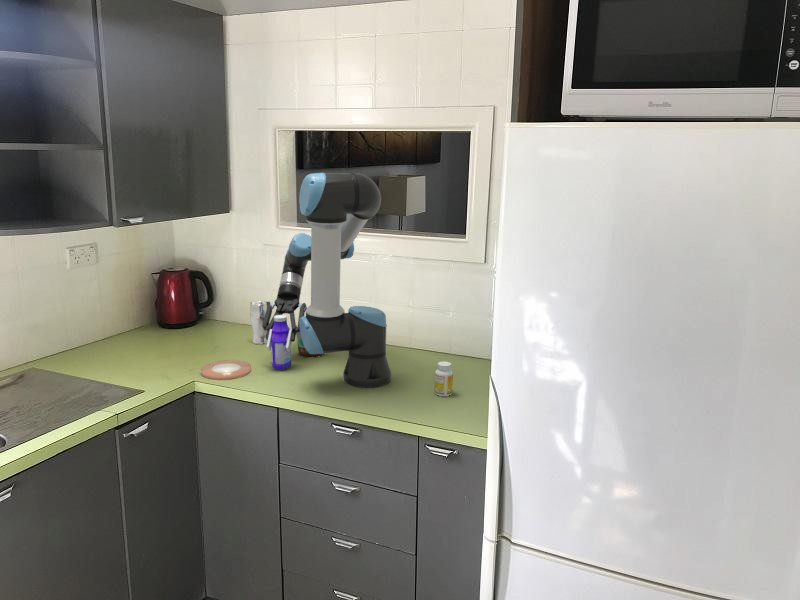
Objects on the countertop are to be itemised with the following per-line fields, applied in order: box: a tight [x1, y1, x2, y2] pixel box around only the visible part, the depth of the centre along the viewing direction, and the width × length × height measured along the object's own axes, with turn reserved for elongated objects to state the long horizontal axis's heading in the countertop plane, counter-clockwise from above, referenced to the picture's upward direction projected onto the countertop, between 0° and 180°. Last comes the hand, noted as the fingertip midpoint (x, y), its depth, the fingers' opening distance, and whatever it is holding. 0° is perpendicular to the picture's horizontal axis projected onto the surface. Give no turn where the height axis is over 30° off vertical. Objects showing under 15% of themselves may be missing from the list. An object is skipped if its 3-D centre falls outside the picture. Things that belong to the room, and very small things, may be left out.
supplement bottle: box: [433, 361, 454, 397], centre depth 196 cm, size 5×5×10 cm
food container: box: [296, 324, 325, 358], centre depth 228 cm, size 12×6×10 cm, turn 80°
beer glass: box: [249, 300, 268, 345], centre depth 243 cm, size 7×7×15 cm
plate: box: [200, 359, 252, 381], centre depth 213 cm, size 16×16×1 cm
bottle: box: [271, 314, 292, 370], centre depth 215 cm, size 7×6×17 cm
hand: (278, 349), depth 211 cm, fingers closed on bottle, 6 cm apart
